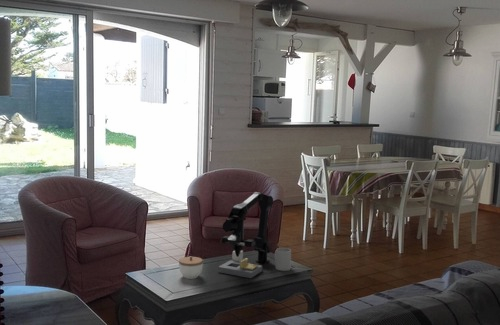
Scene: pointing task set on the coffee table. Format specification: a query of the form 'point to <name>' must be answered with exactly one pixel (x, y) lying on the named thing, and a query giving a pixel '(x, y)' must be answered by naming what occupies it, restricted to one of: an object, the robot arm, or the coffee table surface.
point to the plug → (235, 258)
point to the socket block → (238, 269)
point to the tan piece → (247, 265)
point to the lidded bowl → (190, 267)
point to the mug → (283, 259)
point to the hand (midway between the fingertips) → (237, 256)
